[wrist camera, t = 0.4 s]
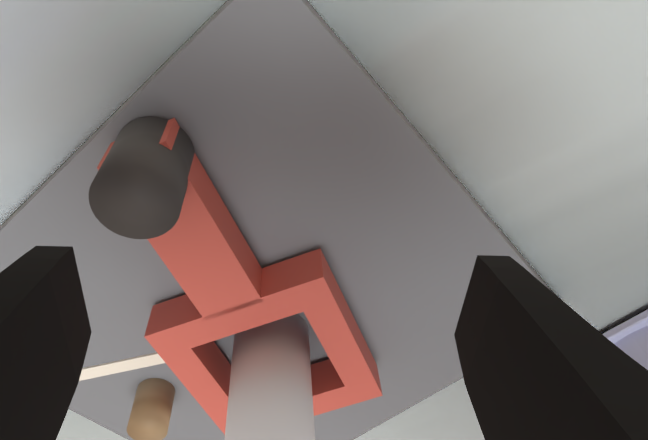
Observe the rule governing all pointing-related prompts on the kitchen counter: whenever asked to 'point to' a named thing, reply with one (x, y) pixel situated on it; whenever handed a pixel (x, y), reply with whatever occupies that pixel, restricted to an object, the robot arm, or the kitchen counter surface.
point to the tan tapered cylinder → (151, 410)
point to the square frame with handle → (220, 272)
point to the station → (277, 228)
